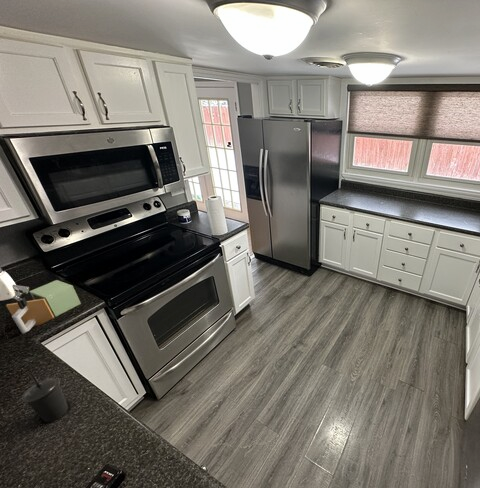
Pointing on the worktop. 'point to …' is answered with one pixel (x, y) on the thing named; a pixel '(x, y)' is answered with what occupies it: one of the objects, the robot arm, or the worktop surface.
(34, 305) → the door
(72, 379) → the worktop surface
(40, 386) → the drinking cup
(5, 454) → the worktop surface
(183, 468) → the worktop surface
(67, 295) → the cupboard
